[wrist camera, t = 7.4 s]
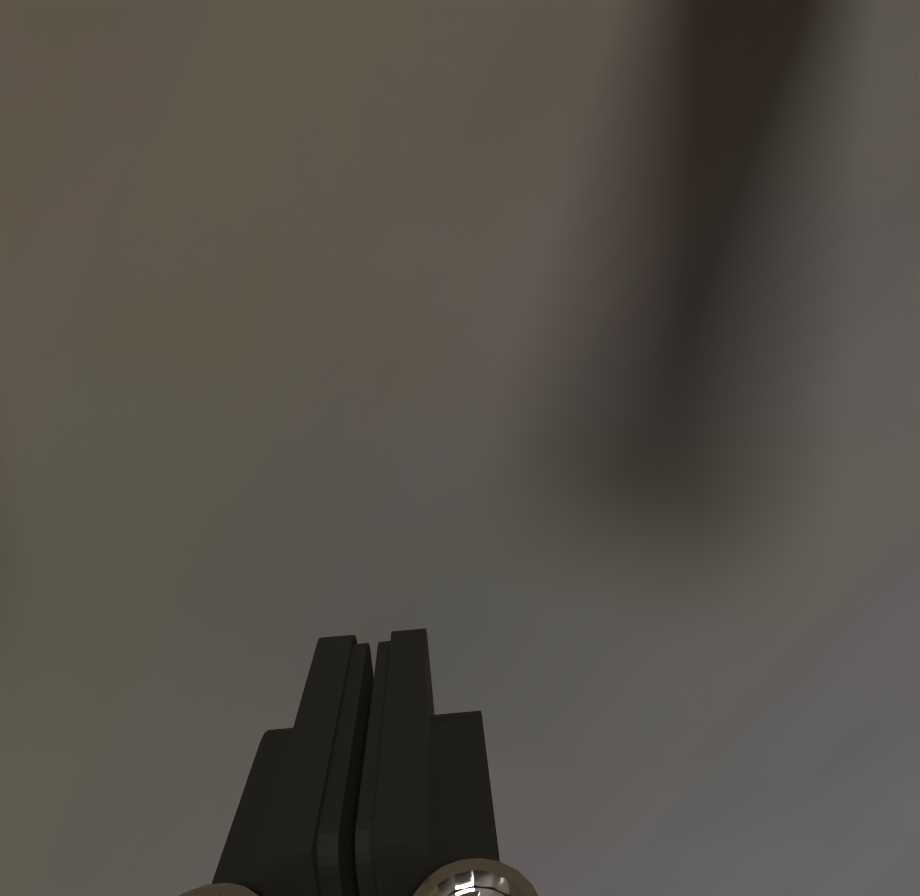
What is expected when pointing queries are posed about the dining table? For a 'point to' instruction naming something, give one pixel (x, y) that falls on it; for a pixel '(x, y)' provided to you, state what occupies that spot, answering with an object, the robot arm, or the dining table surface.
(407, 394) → the dining table surface
